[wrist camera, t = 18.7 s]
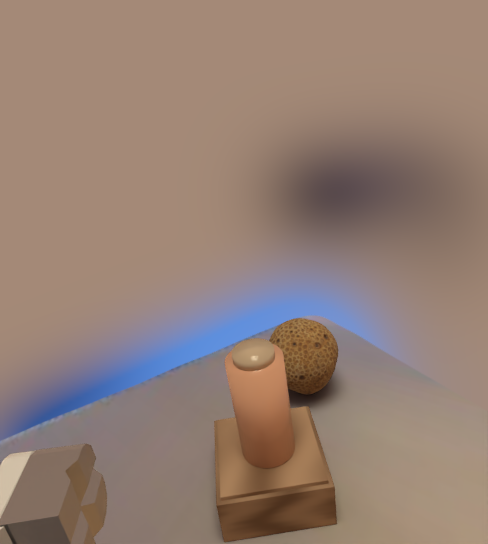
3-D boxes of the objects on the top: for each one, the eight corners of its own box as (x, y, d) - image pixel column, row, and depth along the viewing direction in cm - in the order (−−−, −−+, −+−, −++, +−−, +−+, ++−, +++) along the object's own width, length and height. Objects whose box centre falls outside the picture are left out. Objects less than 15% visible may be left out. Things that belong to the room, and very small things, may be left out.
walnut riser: (224, 542, 38) (215, 502, 36) (220, 453, 47) (213, 418, 45) (336, 523, 38) (334, 483, 36) (311, 439, 48) (308, 403, 46)
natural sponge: (263, 413, 52) (253, 343, 48) (271, 368, 60) (264, 304, 56) (340, 415, 50) (337, 342, 46) (339, 368, 58) (336, 302, 54)
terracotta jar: (243, 472, 39) (223, 372, 34) (241, 430, 43) (223, 338, 39) (299, 463, 38) (286, 363, 34) (291, 423, 43) (278, 330, 39)
